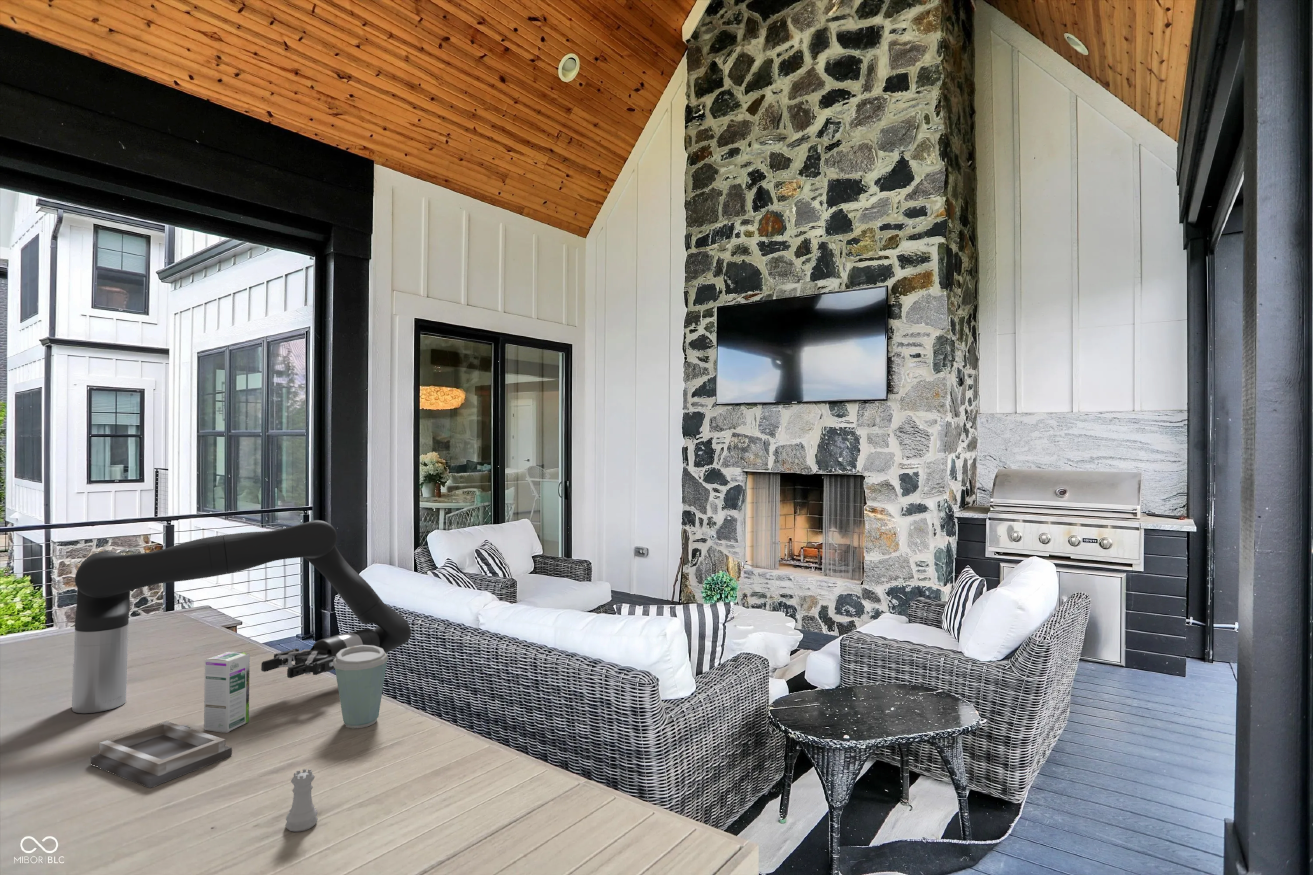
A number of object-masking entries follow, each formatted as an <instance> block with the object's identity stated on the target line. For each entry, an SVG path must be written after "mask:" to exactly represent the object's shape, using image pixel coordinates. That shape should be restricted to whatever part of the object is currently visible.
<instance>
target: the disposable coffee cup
mask: <svg viewBox="0 0 1313 875" xmlns="http://www.w3.org/2000/svg"><path fill="white" fill-rule="evenodd" d="M388 660H389V659H388V654H387V653H385V652H384V650H383V649H382V648H380V647H377V646H372V645H359V646H353V647H348V648H345V649H342V650H340V651H339V652H338V653H337V654H336V658H335V659H334V660H333V666H334V668H335V669H334V670H335V677H336V683H337V690H338V695H339V696H338V697H339V701H340V708H341V715H342V721H343V724H344V726H345V725H346V726H345V727H346V728H349V729H361V728H362V729H363V728H367V727H369V726H372V725H374V724H376V722H377V721H378V718H379V716H380V708H381V702H382V695H383V689H384V682H385V676H386V671H387V670H386V669H387V664H388V663H387V662H388Z"/></svg>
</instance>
